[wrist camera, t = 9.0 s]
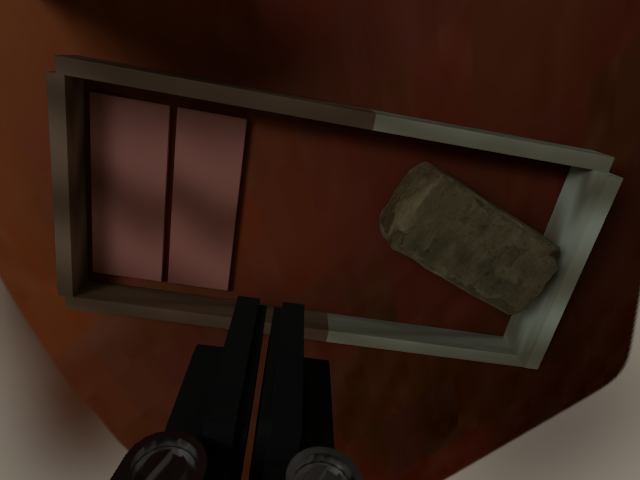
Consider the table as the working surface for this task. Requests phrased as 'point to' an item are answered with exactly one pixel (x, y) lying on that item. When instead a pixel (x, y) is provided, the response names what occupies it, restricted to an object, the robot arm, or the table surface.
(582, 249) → the frame
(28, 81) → the table surface
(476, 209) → the stone block
